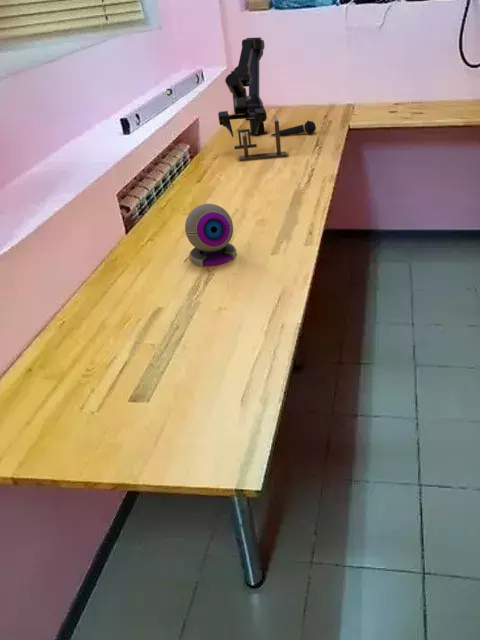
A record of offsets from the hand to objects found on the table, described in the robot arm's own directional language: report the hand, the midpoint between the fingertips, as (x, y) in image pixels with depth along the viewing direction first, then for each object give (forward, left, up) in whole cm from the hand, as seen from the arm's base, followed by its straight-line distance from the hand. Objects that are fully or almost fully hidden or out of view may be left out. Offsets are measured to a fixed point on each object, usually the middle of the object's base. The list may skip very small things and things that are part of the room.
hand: (244, 135), depth 247 cm
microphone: (-8, +33, -8) cm, 35 cm away
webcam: (+69, -65, -8) cm, 95 cm away
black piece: (0, 0, -5) cm, 5 cm away
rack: (+6, +4, -8) cm, 11 cm away
